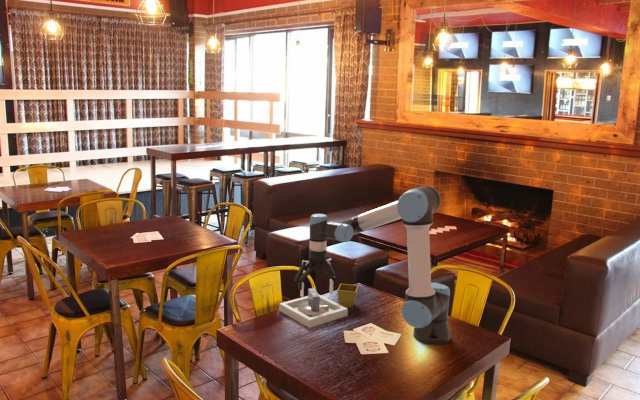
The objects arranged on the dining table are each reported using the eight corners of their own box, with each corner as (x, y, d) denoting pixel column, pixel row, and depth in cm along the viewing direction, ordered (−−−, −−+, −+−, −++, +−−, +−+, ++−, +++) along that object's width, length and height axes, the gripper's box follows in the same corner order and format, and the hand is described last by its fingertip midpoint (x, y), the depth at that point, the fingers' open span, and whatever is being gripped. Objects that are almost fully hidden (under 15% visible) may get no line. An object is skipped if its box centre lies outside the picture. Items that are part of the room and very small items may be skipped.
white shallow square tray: (347, 315, 256) (347, 308, 255) (309, 327, 242) (309, 319, 241) (316, 300, 272) (316, 293, 272) (279, 310, 258) (279, 302, 258)
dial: (324, 303, 265) (325, 286, 263) (332, 315, 252) (333, 297, 250) (295, 305, 262) (295, 287, 260) (301, 317, 248) (301, 299, 247)
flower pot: (354, 310, 263) (355, 291, 261) (336, 308, 264) (337, 289, 262) (357, 303, 271) (358, 285, 269) (339, 301, 273) (340, 283, 271)
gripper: (341, 245, 255) (340, 290, 259) (288, 248, 248) (287, 294, 252) (347, 249, 248) (345, 295, 252) (292, 253, 241) (291, 300, 245)
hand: (316, 295), depth 252 cm, fingers open, 13 cm apart
